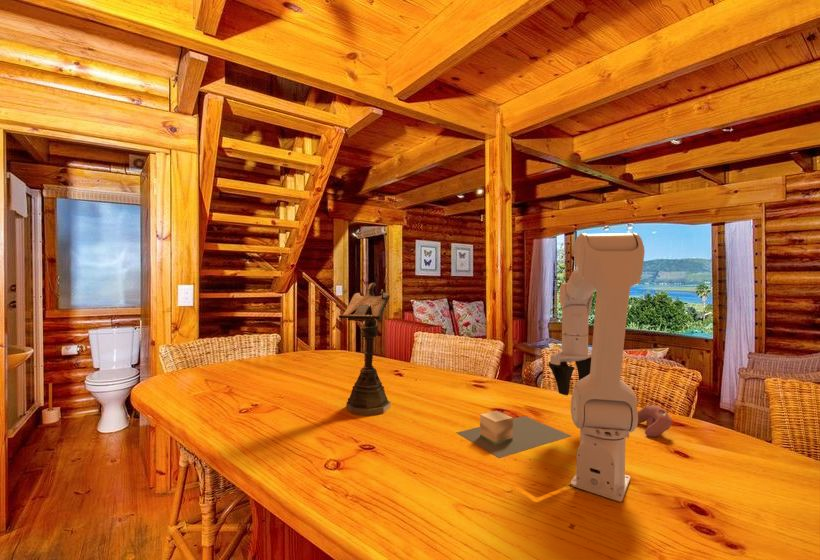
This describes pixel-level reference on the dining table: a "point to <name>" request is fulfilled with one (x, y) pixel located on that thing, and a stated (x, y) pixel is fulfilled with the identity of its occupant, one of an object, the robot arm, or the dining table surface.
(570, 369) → the robot arm
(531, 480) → the dining table surface
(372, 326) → the book stand
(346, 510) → the dining table surface
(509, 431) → the birch block
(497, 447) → the rubber mat
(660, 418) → the video game controller
